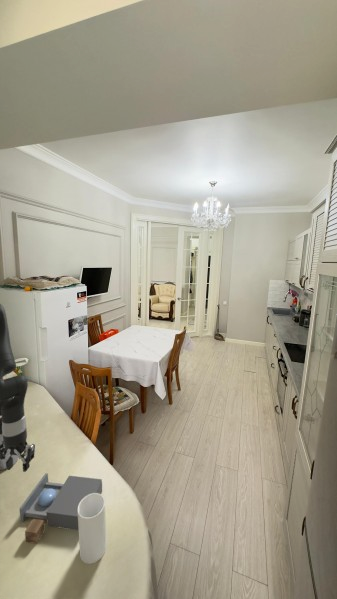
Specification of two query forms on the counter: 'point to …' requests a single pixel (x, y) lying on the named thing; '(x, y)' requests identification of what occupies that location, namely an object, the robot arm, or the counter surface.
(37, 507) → the tray
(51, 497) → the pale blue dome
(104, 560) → the counter surface
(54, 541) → the counter surface
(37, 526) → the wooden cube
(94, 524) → the cup
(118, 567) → the counter surface
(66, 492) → the housing
